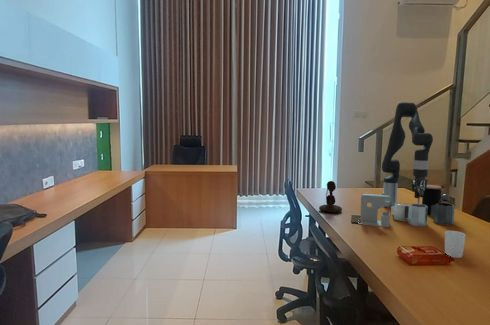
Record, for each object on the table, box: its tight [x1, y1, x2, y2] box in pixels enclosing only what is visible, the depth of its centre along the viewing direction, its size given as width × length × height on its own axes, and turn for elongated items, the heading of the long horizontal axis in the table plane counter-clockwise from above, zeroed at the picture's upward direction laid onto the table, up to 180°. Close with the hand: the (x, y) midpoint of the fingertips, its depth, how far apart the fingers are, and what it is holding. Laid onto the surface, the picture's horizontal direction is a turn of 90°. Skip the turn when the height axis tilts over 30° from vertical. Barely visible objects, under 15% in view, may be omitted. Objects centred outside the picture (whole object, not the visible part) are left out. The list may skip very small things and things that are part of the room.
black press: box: [430, 193, 456, 226], centre depth 208 cm, size 12×9×17 cm
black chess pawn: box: [318, 180, 343, 215], centre depth 233 cm, size 15×15×20 cm
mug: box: [390, 202, 409, 222], centre depth 216 cm, size 10×8×9 cm
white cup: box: [444, 230, 467, 259], centre depth 156 cm, size 8×8×10 cm
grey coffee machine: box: [357, 193, 392, 228], centre depth 205 cm, size 17×10×18 cm, turn 69°
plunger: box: [416, 189, 423, 207], centre depth 204 cm, size 6×6×16 cm
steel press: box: [404, 203, 428, 227], centre depth 206 cm, size 12×9×11 cm
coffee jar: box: [421, 184, 443, 216], centre depth 229 cm, size 11×11×18 cm
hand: (418, 197), depth 204 cm, fingers closed on plunger, 4 cm apart
